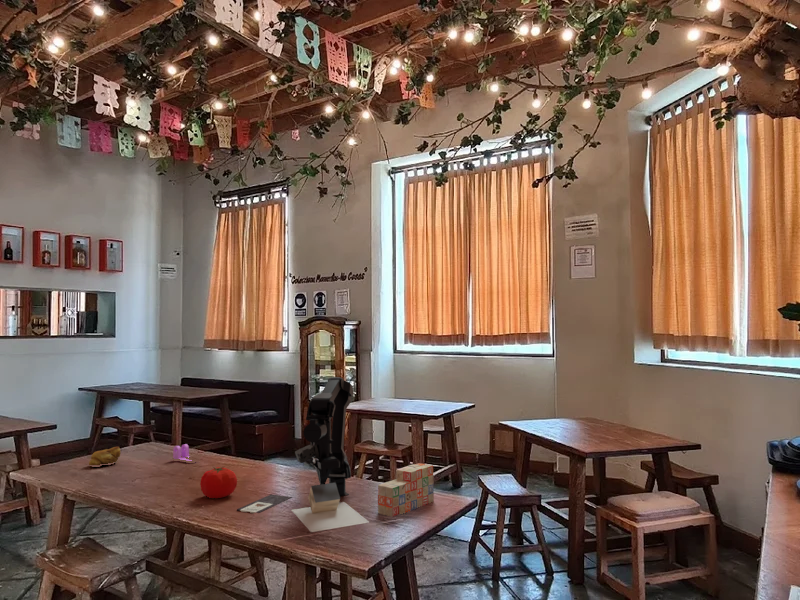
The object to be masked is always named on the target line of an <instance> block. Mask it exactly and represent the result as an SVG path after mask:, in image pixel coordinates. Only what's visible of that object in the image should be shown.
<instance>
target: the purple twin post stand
mask: <svg viewBox="0 0 800 600" xmlns="http://www.w3.org/2000/svg"><path fill="white" fill-rule="evenodd" d="M172 454H173V455H172V459H173V458H174V459H180V460H186V461H192V460H189V459H186V458H185V457H188V458H189V457H190V446H189V445H188V443H185V444H181V446H180V445H175V446H173V448H172ZM181 456H182V457H181Z"/></svg>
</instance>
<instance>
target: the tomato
mask: <svg viewBox="0 0 800 600" xmlns="http://www.w3.org/2000/svg"><path fill="white" fill-rule="evenodd" d="M212 468H213V469H211V470H206V471H205V472H204V473H203V475H202V476H201V478H200V482H199V483H200V484H199V485H200V491H201V493H202V494H203V495H204V496H205V497H206V496H207V498H208V497H209V499H210V498H215V499H221V498H225V497H228V496H230V495H231V494H232V493H234V492H235V490H236V488H237V485H238V478H237V475H236V473H235V472H234V471H233V470H231V469H229V468H227V467H224V466H222V467H221V466H220V467H219V466H217V467H215V466H212Z"/></svg>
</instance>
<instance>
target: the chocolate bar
mask: <svg viewBox="0 0 800 600" xmlns="http://www.w3.org/2000/svg"><path fill="white" fill-rule="evenodd" d="M292 498H293V497H292V496H289V495H287V496H286V495H278V494H271V493H270V494H268V495H265V496H264V497H262V498H259V499H257V500H255V501H253V502H251V503H249V504H246V505H244V506H242V507H239V508H236V512H240V511H241V512H242V513H247V512H250V513H249V514H254V513H255V514H256V513H258V514H259V513H262V512H264V511H267V510H269V509H271V508H273V507H275V506H277V505H279V504H282V503H283V502H286V501H287V500H290V499H292Z"/></svg>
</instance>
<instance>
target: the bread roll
mask: <svg viewBox="0 0 800 600" xmlns="http://www.w3.org/2000/svg"><path fill="white" fill-rule="evenodd" d="M121 451H122V450H121V448H120V446H113V447H111V448H109V449H108V448H106V449H103V450H102V449H101V450H97V451H96V450H95V451H94V452H93V453H92V454H91V456H90V460H89V462H88V466H89V465H100V464H108V463H113V462H116V461H117V460H119V458H120V457H121ZM117 462H118V461H117Z"/></svg>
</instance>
